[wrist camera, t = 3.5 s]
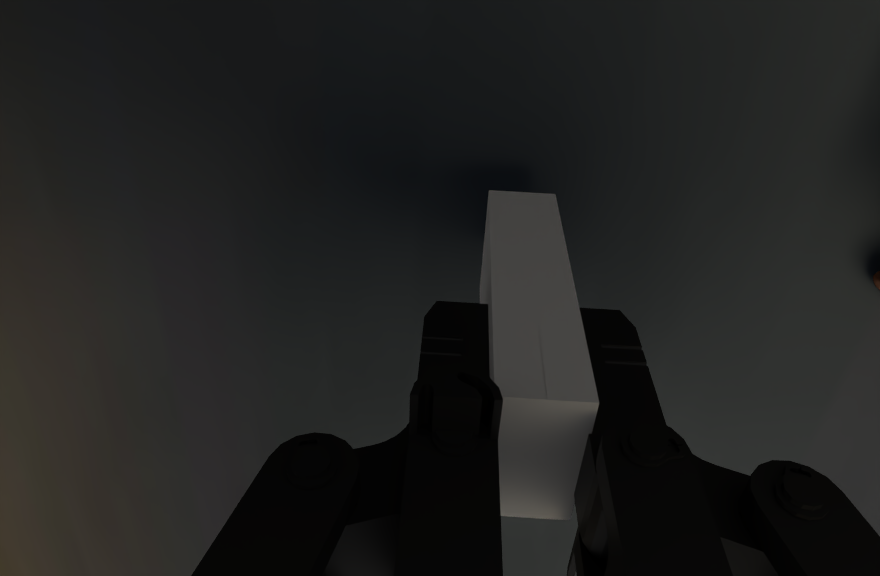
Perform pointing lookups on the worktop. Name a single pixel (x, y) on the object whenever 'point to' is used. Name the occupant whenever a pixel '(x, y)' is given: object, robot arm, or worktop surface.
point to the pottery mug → (877, 279)
